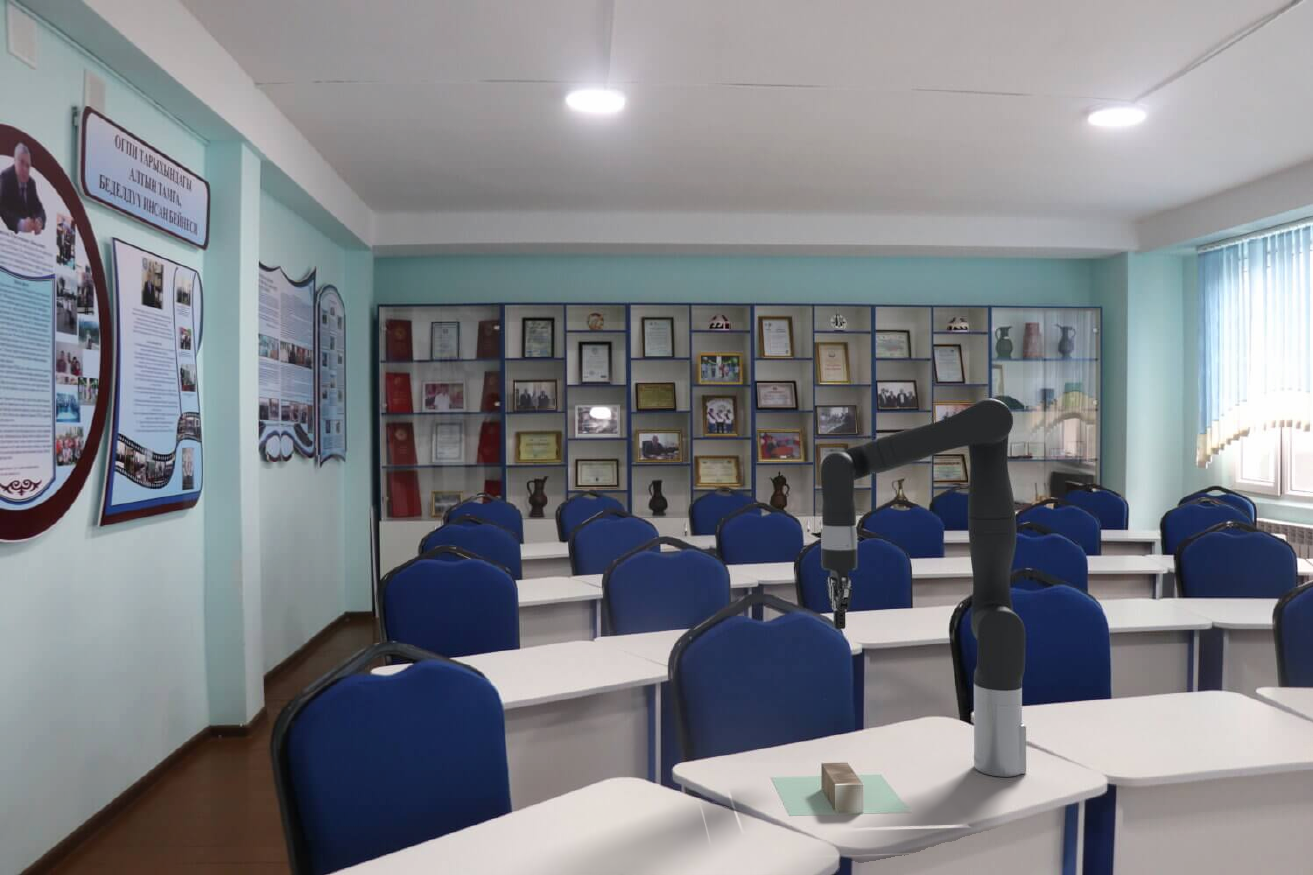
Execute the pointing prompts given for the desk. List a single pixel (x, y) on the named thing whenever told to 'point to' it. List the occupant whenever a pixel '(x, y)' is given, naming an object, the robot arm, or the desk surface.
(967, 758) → the desk surface
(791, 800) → the sage mat
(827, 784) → the walnut block
